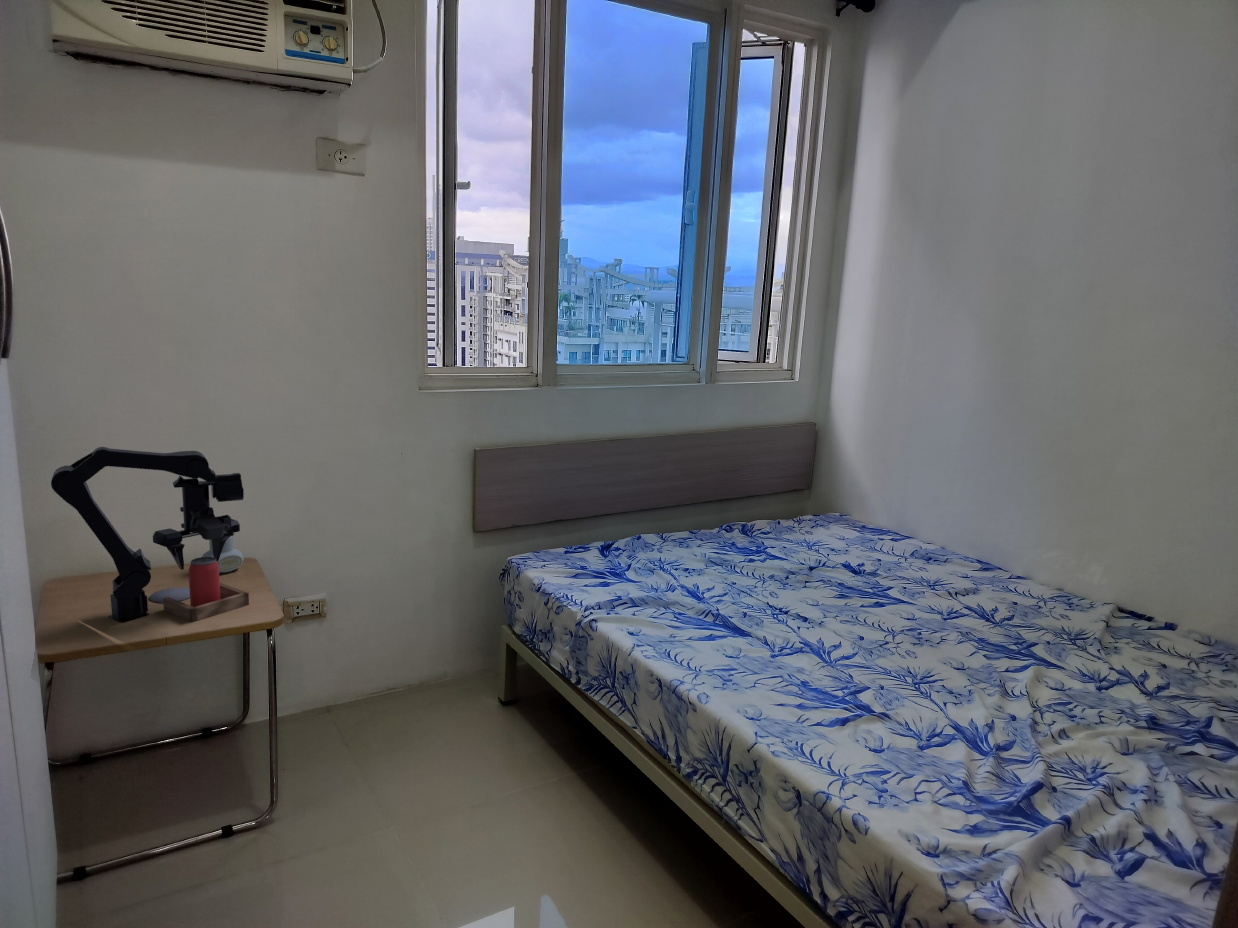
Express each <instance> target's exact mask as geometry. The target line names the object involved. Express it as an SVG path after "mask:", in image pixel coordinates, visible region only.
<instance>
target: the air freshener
mask: <svg viewBox="0 0 1238 928" xmlns="http://www.w3.org/2000/svg"><path fill="white" fill-rule="evenodd" d="M208 541H209V550H208V551H206V552H204V553H203V554H202V555H201V557H213V558H214V556H213V549H212V540H208ZM244 559H245V558H244V554H243V553H242V552H241V550H239V549H236V548H234V535H233V536H231V537H229V538H228V539H227V540H226V542H225V544H224V547H223V549H222V552H221V555H220V558H219V561H216V562H217V564H218V566H219V574H228V573H231V572H233V571H235V570H237V569H238V568H239V567H241V566H242V564H243V563H244V561H245V560H244Z"/></svg>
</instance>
